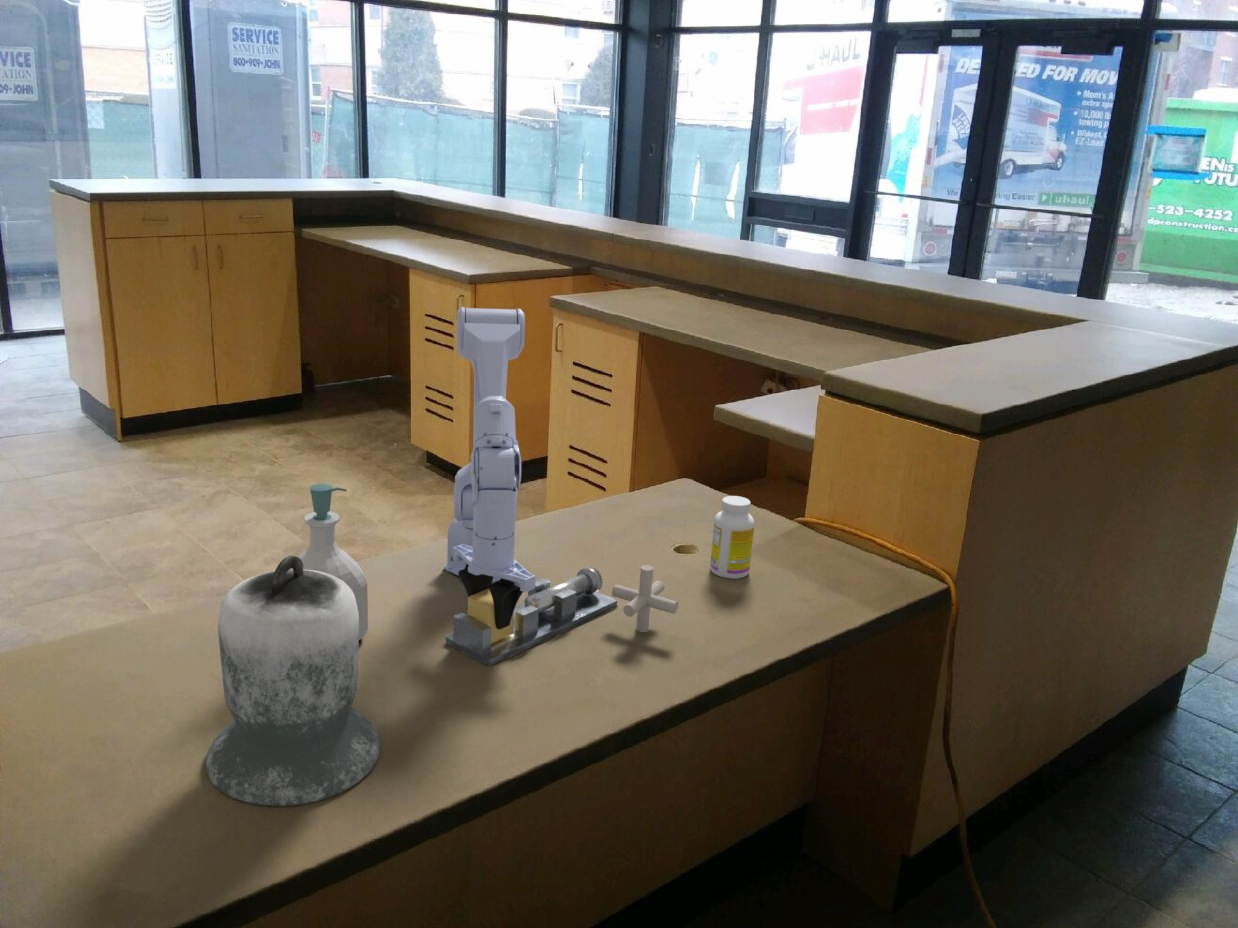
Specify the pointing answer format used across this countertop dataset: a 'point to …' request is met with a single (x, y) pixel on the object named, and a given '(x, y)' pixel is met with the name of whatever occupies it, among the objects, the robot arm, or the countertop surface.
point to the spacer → (487, 614)
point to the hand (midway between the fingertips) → (491, 620)
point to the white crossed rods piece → (644, 598)
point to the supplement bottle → (732, 538)
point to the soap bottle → (333, 551)
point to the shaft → (582, 583)
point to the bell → (290, 690)
